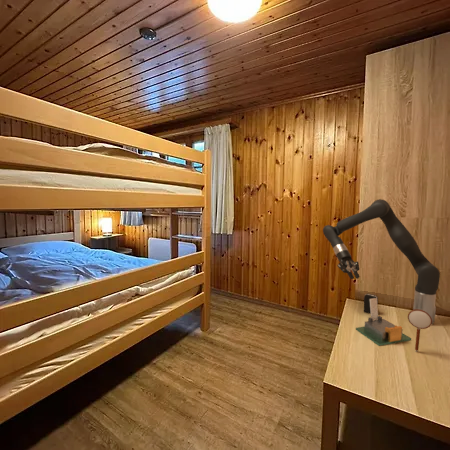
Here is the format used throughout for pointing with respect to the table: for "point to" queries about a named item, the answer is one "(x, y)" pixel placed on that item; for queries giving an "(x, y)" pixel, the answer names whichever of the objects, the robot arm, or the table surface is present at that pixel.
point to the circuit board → (382, 332)
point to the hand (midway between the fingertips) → (355, 278)
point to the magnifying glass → (419, 322)
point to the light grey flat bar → (374, 309)
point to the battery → (368, 302)
